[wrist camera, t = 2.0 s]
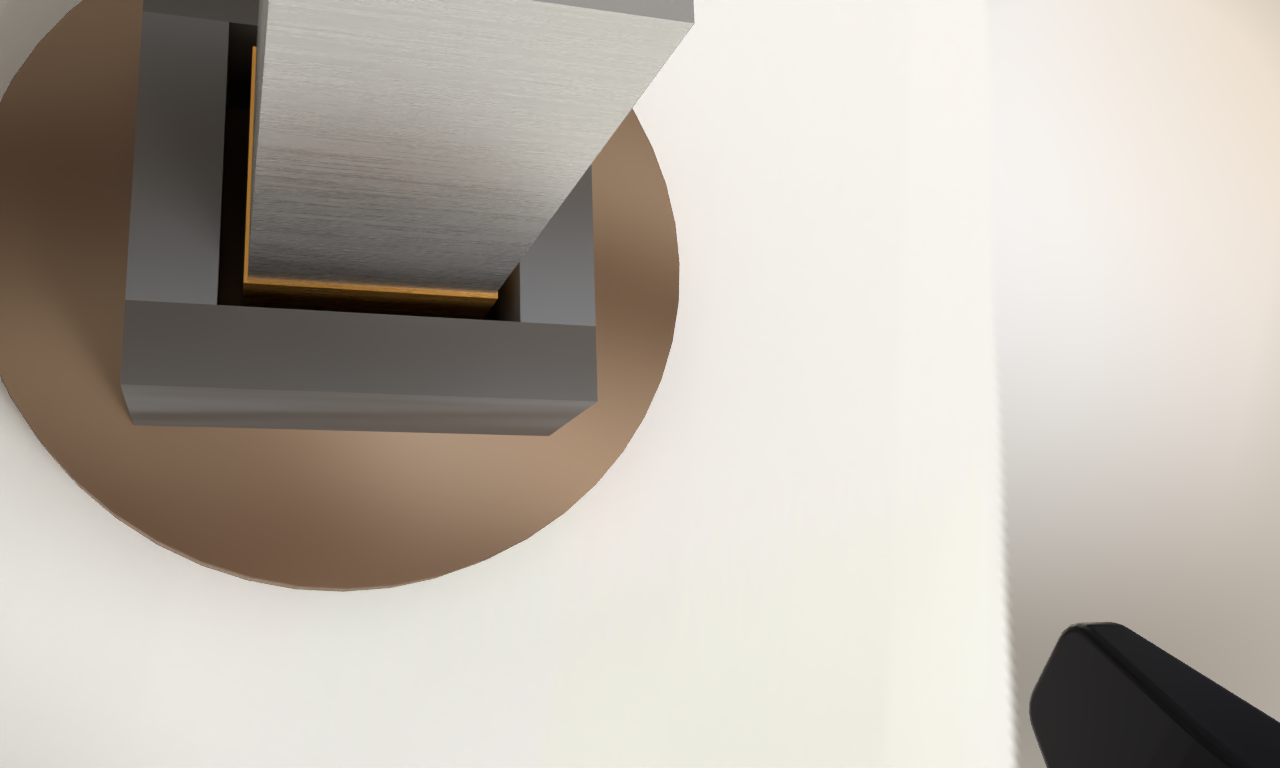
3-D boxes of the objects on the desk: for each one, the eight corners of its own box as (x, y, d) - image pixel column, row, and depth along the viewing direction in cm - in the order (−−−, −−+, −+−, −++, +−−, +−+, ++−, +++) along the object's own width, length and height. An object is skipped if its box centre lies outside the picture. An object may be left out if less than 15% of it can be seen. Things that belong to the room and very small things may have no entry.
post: (463, 343, 21) (700, 28, 11) (239, 332, 20) (265, -33, 10) (463, 145, 22) (682, -325, 12) (248, 123, 21) (279, -421, 11)
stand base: (673, 587, 23) (761, 569, 19) (-53, 597, 19) (-118, 579, 15) (651, 1, 25) (724, -112, 22) (8, -92, 22) (-35, -250, 18)
